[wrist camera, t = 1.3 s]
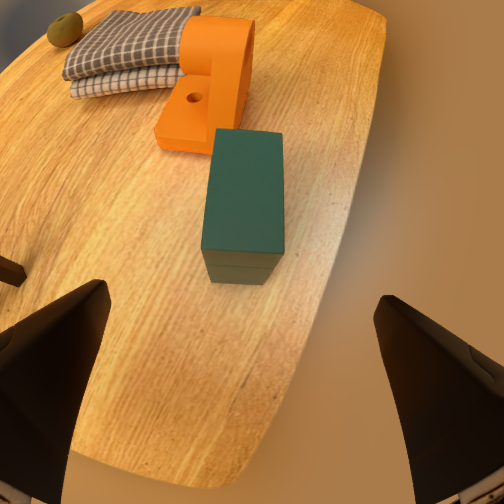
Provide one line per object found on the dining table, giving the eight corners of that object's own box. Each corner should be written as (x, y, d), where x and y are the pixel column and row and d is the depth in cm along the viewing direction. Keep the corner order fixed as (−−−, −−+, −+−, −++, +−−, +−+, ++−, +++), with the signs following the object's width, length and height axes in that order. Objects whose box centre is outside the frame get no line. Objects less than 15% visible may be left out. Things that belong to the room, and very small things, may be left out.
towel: (72, 112, 24) (51, 63, 17) (115, 47, 31) (107, 10, 23) (193, 92, 25) (188, 31, 18) (204, 34, 32) (204, -6, 25)
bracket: (188, 81, 27) (181, -4, 15) (249, 88, 27) (262, 0, 15) (156, 152, 24) (125, 56, 12) (229, 162, 24) (236, 59, 13)
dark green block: (262, 285, 21) (284, 253, 13) (210, 282, 21) (200, 248, 13) (264, 197, 23) (282, 132, 15) (218, 194, 23) (216, 127, 15)
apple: (48, 58, 30) (37, 33, 23) (62, 40, 32) (53, 17, 25) (80, 46, 31) (70, 18, 24) (92, 29, 33) (85, 4, 26)
